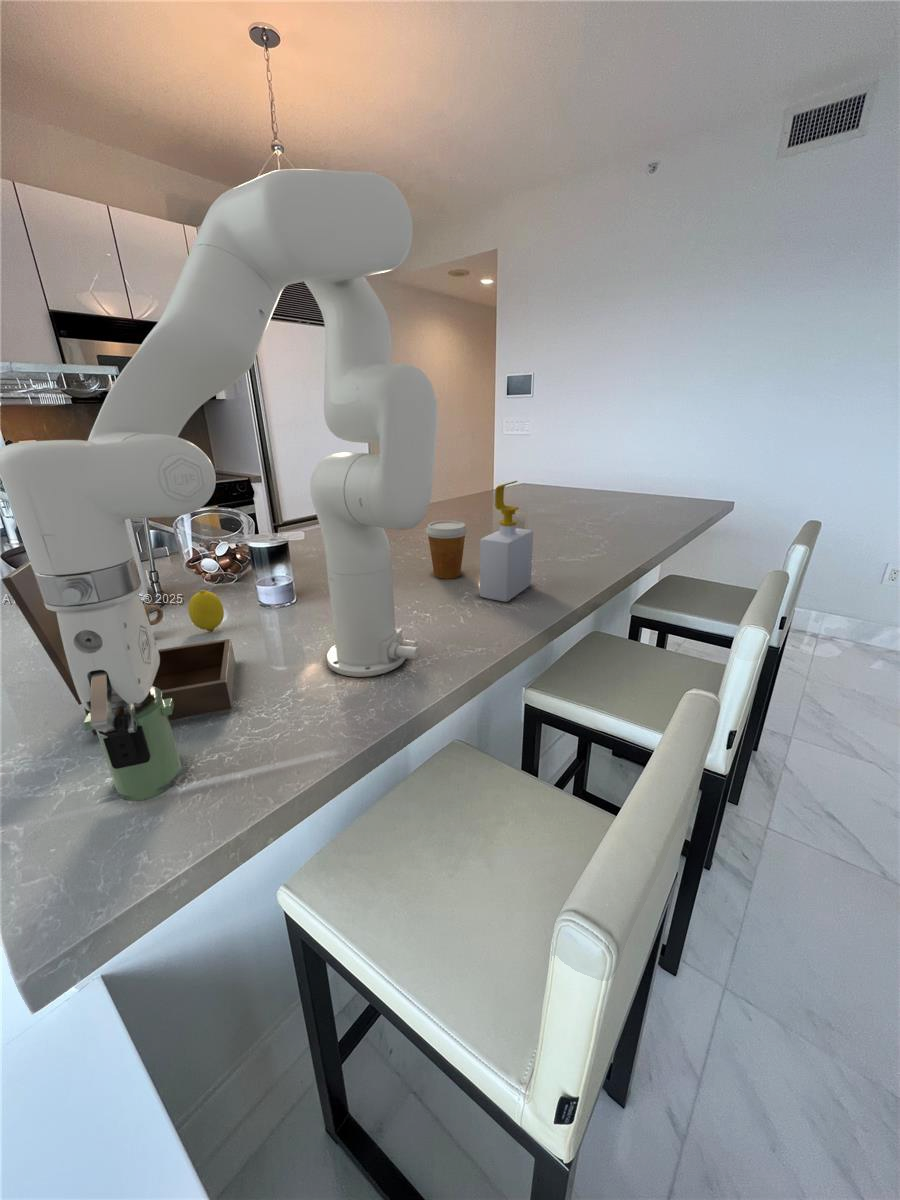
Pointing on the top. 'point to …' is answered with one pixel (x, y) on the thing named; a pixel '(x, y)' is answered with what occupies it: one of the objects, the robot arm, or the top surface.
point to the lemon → (206, 610)
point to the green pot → (161, 745)
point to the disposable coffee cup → (446, 547)
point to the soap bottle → (505, 556)
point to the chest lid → (40, 619)
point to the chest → (196, 678)
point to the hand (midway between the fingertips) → (139, 741)
